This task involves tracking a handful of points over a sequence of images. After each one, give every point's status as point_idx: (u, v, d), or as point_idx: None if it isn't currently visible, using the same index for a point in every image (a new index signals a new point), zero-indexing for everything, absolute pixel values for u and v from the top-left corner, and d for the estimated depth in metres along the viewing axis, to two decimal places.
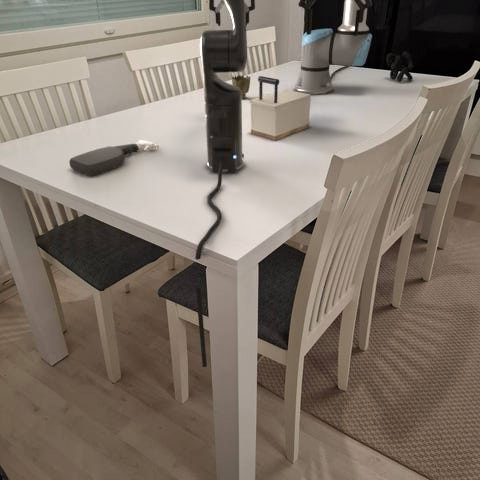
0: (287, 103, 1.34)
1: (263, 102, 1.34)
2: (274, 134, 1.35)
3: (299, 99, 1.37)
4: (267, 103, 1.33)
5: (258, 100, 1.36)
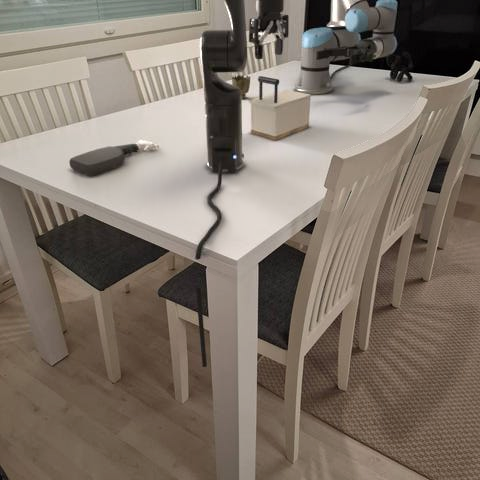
0: (287, 103, 1.34)
1: (263, 102, 1.34)
2: (274, 134, 1.35)
3: (299, 99, 1.37)
4: (267, 103, 1.33)
5: (258, 100, 1.36)
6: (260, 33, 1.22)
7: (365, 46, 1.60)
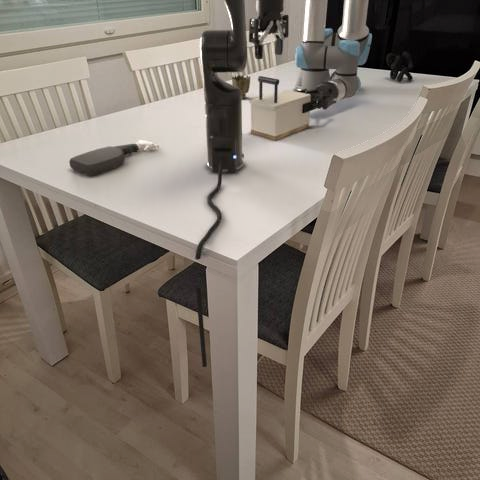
0: (287, 103, 1.34)
1: (263, 102, 1.34)
2: (274, 134, 1.35)
3: (299, 99, 1.37)
4: (267, 103, 1.33)
5: (258, 100, 1.36)
6: (260, 33, 1.22)
7: (326, 90, 1.53)
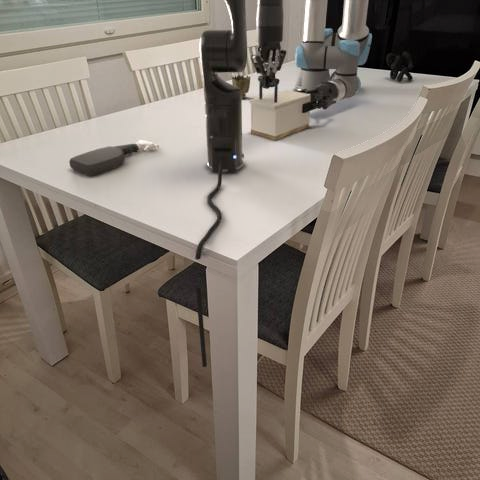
0: (287, 103, 1.34)
1: (263, 101, 1.34)
2: (274, 134, 1.35)
3: (299, 99, 1.37)
4: (267, 102, 1.33)
5: (258, 100, 1.36)
6: (264, 65, 1.28)
7: (326, 90, 1.53)
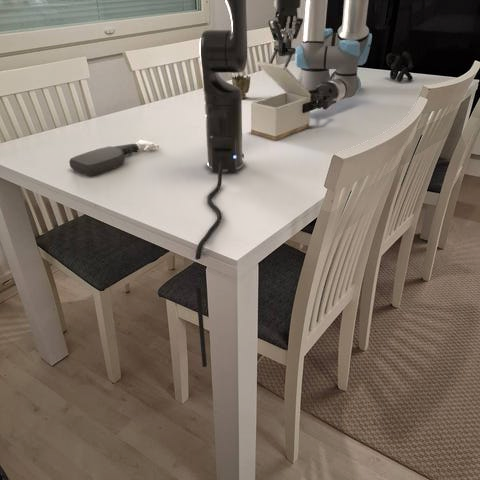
0: (293, 77, 1.32)
1: None
2: (274, 134, 1.35)
3: (302, 87, 1.36)
4: None
5: None
6: (281, 31, 1.28)
7: (326, 90, 1.53)
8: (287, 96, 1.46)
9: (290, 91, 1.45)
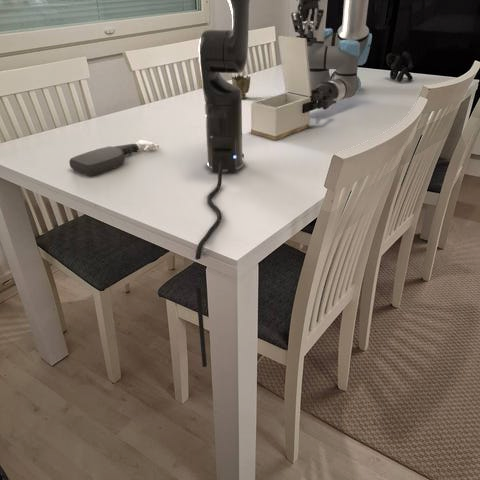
0: (307, 59, 1.33)
1: None
2: (274, 134, 1.35)
3: (309, 78, 1.37)
4: None
5: None
6: (303, 23, 1.33)
7: (326, 90, 1.53)
8: (287, 96, 1.46)
9: (291, 89, 1.44)
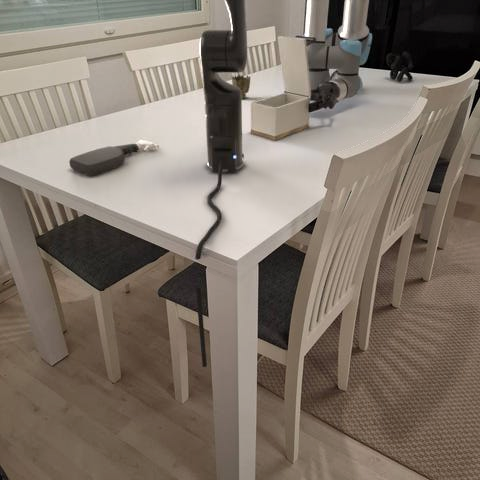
0: (307, 59, 1.33)
1: None
2: (274, 134, 1.35)
3: (308, 78, 1.37)
4: None
5: None
6: None
7: (327, 89, 1.53)
8: (287, 96, 1.46)
9: (291, 89, 1.44)
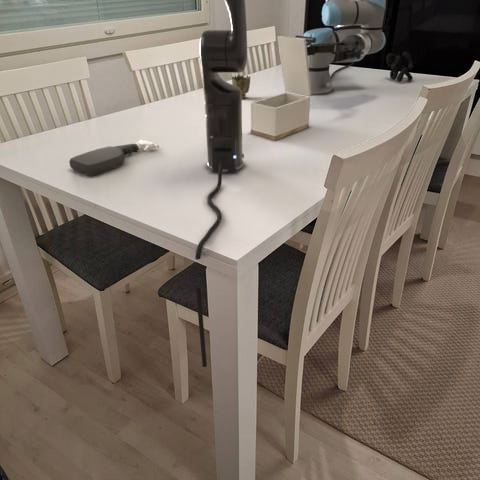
0: (306, 59, 1.33)
1: None
2: (274, 134, 1.35)
3: (308, 78, 1.37)
4: None
5: None
6: None
7: (353, 42, 1.54)
8: (287, 96, 1.46)
9: (291, 89, 1.44)
